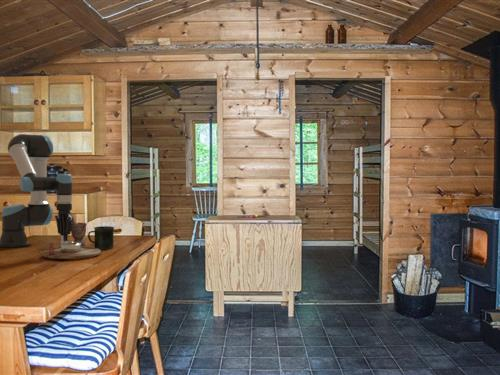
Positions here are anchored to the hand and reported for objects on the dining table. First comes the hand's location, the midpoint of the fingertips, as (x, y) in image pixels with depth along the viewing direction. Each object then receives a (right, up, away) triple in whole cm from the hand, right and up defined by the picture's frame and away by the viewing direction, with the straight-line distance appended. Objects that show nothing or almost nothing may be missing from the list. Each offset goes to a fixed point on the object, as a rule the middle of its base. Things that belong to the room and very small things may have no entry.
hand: (64, 247), depth 237 cm
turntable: (+6, -4, -4) cm, 8 cm away
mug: (+13, -3, +19) cm, 23 cm away
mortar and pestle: (-4, -3, +27) cm, 27 cm away
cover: (+5, -2, -3) cm, 6 cm away
